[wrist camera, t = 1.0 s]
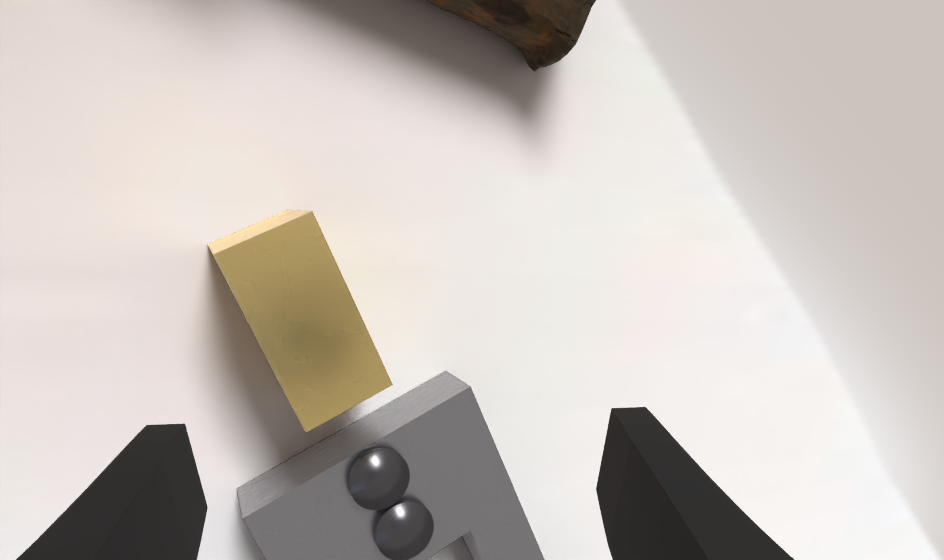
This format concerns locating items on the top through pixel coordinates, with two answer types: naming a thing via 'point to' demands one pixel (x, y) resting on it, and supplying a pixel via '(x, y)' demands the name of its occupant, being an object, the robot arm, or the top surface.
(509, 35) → the dark brown elongated piece
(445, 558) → the top surface
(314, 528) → the chain ends
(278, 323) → the brass rectangular block
